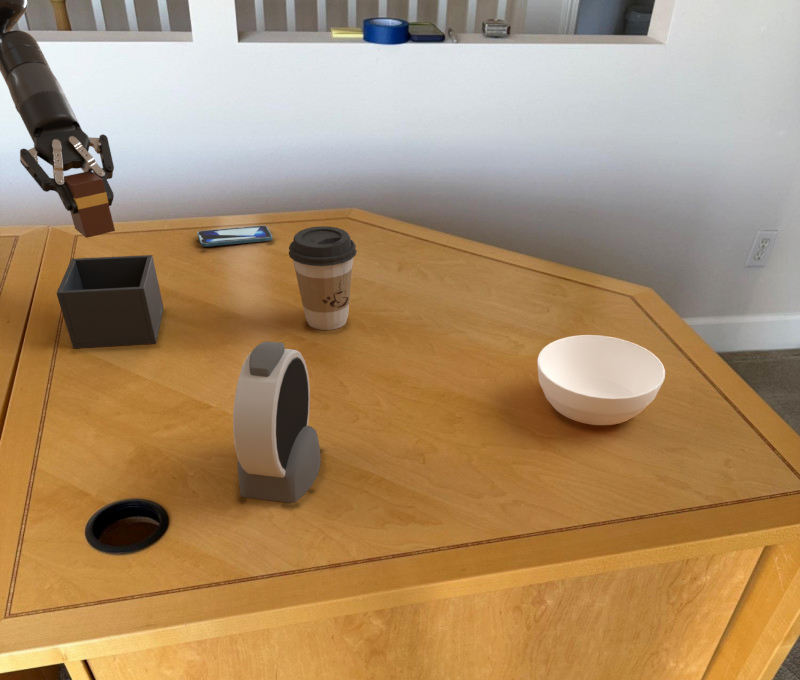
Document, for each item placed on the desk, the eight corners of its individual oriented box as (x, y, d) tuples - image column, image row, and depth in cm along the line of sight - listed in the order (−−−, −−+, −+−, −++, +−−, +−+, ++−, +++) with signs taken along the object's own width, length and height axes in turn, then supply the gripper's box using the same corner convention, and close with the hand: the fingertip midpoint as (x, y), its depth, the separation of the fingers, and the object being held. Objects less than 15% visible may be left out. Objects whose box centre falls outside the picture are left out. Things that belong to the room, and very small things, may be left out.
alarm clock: (301, 513, 98) (288, 389, 86) (224, 504, 99) (201, 380, 87) (332, 441, 110) (324, 322, 98) (263, 433, 111) (247, 315, 99)
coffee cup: (320, 342, 131) (314, 256, 121) (282, 319, 137) (273, 235, 127) (372, 322, 137) (370, 237, 127) (332, 300, 143) (328, 218, 133)
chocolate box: (86, 238, 121) (71, 185, 116) (74, 228, 124) (59, 176, 119) (115, 231, 124) (102, 178, 118) (103, 222, 127) (90, 170, 121)
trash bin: (73, 348, 129) (56, 293, 123) (86, 311, 139) (71, 258, 133) (156, 343, 131) (143, 288, 124) (163, 307, 141) (152, 254, 134)
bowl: (509, 390, 120) (514, 348, 115) (607, 367, 126) (616, 326, 121) (573, 454, 108) (582, 410, 103) (679, 425, 113) (692, 382, 108)
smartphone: (273, 237, 163) (201, 243, 160) (273, 241, 164) (202, 248, 160) (266, 224, 169) (196, 231, 165) (266, 229, 169) (197, 235, 165)
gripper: (-6, 96, 113) (47, 204, 114) (89, 82, 119) (139, 184, 120) (-5, 128, 119) (46, 229, 120) (86, 113, 126) (133, 209, 127)
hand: (92, 206), depth 120 cm, fingers closed on chocolate box, 5 cm apart
